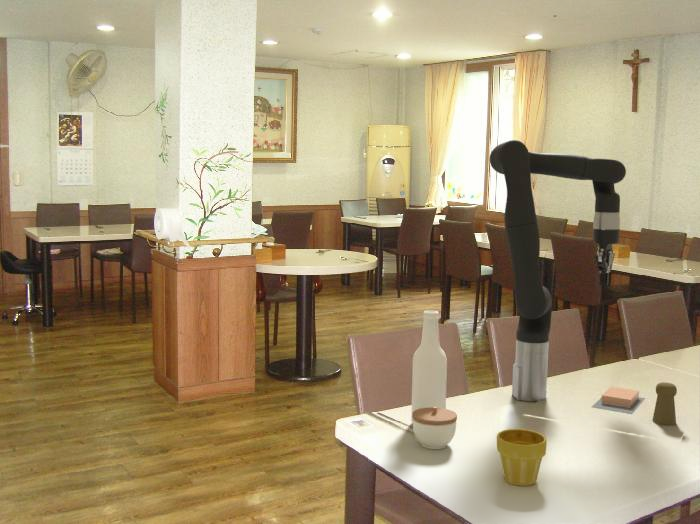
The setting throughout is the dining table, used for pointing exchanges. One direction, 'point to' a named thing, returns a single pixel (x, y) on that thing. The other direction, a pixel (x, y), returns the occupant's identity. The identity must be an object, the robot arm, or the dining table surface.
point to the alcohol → (429, 367)
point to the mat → (618, 408)
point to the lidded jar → (434, 426)
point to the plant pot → (521, 455)
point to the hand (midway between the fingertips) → (604, 284)
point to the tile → (620, 397)
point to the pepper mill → (665, 404)
